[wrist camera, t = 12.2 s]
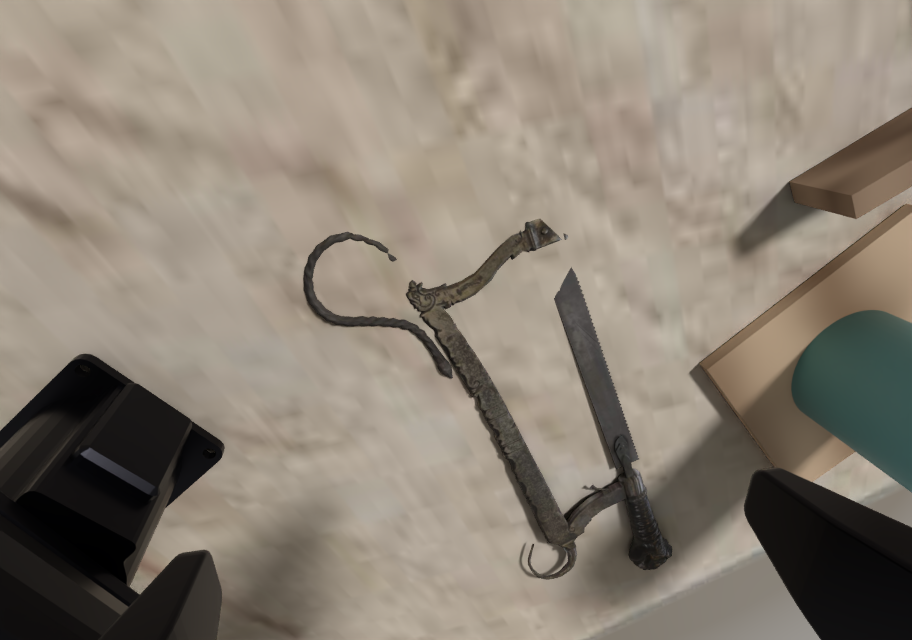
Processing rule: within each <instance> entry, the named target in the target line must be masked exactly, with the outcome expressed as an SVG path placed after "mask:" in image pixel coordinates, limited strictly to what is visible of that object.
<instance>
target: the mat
mask: <svg viewBox="0 0 912 640" xmlns="http://www.w3.org/2000/svg"><path fill="white" fill-rule="evenodd" d="M864 310H880V311H884V312H887V313H889V314H892V315H894V316H897V317H899V318H901V319H904V320H906V321H908V322H911V323H912V205H909V204H905V205H904V206H902V207H901V208H900V209H899V210H897V211H896V212H895V213H893V214H892V215H891V216H890V217H888V218H887V219H886V220H884V221H883V222H882V223H880V224H879V225H878V226H877V227H875V228H874V229H873V230H871V231H870V232H869V233H868V234H866V235H865V236H864V237H862V238H861V239H860V240H858V241H857V242H856V243H855V244H853V245H852V246H851V247H849V248H848V249H847V250H845V251H844V252H843V253H842V254H840V255H839V256H838V257H836V258H835V259H834V260H833V261H831V262H830V263H829V264H827V265H826V266H825V267H823V268H822V269H821V270H820V271H818V272H817V273H816V274H814V275H813V276H812V277H811V278H809V279H808V280H807V281H805V282H804V283H803V284H801V285H800V286H799V287H798V288H796V289H795V290H794V291H792V292H791V293H790V294H789V295H787V296H786V297H785V298H783V299H782V300H781V301H779V302H778V303H777V304H776V305H774V306H773V307H772V308H770V309H769V310H768V311H767V312H765V313H764V314H763V315H761V316H760V317H759V318H757V319H756V320H755V321H754V322H752V323H751V324H750V325H748V326H747V327H746V328H744V329H743V330H742V331H741V332H739V333H738V334H737V335H735V336H734V337H733V338H732V339H730V340H729V341H728V342H726V343H725V344H724V345H722V346H721V347H720V348H719V349H717V350H716V351H715V352H713V353H712V354H711V355H710V356H708V357H707V358H706V359H704V360H703V361H702V362H700V363H699V364H700V365H701V367H702V368H703V369H704V371H705V372H706V373H707V375H708V376H709V378H710V379H711V380H712V382H713V383H714V384H715V386H716V387H717V389H718V390H719V391H720V393H721V394H722V396H723V397H724V398H725V400H726V401H727V402H728V404H729V405H730V407H731V408H732V409H733V411H734V412H735V413H736V415H737V416H738V418H739V419H740V420H741V422H742V423H743V424H744V426H745V427H746V429H747V430H748V431H749V433H750V434H751V435H752V437H753V438H754V440H755V441H756V442H757V444H758V445H759V447H760V448H761V449H762V451H763V452H764V453H765V455H766V456H767V458H768V459H769V460H770V462H771V463H772V464H773V466H774V467H775V468H782V469H784V470H787V471H789V472H791V473H793V474H795V475H798V476H800V477H802V478H804V479H806V480H809V481H811V482H813V481H814V480H816V479H817V478H819V477H820V476H821V475H823V474H824V473H826V472H827V471H829V470H830V469H831V468H833V467H834V466H836V465H837V464H839V463H840V462H841V461H843V460H844V459H846V458H847V457H848V456H850V455H851V454H853V453H854V452H856V451H854V450H853V449H852V448H850V447H849V446H848V445H846V444H845V443H843V442H842V441H841V440H839V439H838V438H837V437H835V436H834V435H833V434H831V433H830V432H828V431H827V430H826V429H824V428H823V427H822V426H820V425H819V424H818V423H816V422H815V421H813V420H812V419H811V418H809V417H808V416H807V415H805V414H804V413H803V412H801V411H800V410H799V408H798V407H797V406H796V404H795V402H794V400H793V397H792V391H791V385H792V377H793V373H794V370H795V367H796V365H797V363H798V361H799V359H800V357H801V355H802V354H803V352H804V351H805V349H806V348H807V347H808V345H809V344H810V343H811V342H812V341H813V339H814V338H815V337H816V336H817V335H818V334H819V333H821V332H822V331H823V330H824V329H825V328H827V327H828V326H830V325H831V324H832V323H834V322H836V321H837V320H839V319H841V318H843V317H845V316H847V315H850V314H853V313H856V312H860V311H864Z"/></svg>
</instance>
